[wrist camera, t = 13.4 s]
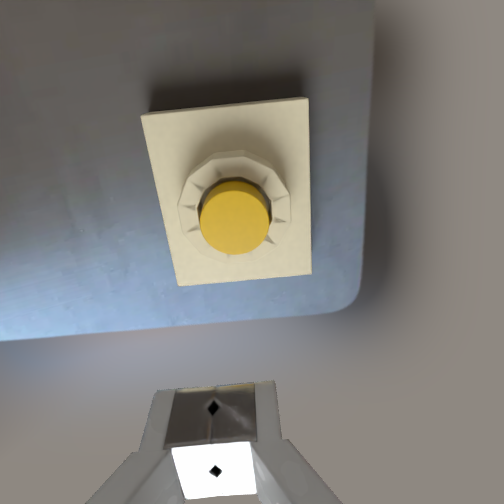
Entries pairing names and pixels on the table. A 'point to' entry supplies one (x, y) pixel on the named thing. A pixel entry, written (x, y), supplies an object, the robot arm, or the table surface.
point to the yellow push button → (234, 218)
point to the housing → (234, 169)
